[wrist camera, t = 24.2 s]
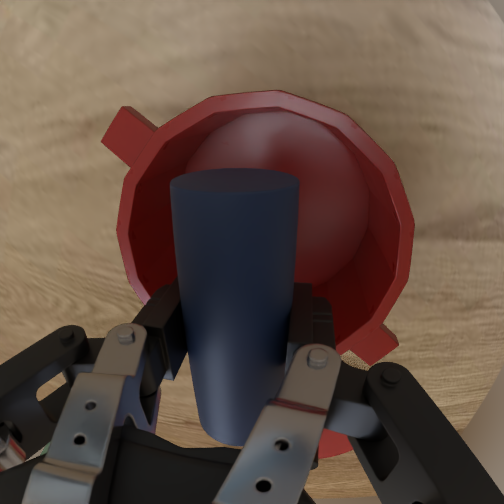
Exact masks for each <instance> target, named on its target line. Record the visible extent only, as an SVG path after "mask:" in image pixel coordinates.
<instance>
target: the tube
mask: <svg viewBox="0 0 504 504" xmlns="http://www.w3.org/2000/svg"><path fill="white" fill-rule="evenodd" d="M299 187H300V181H299V179H298V178H297V177H295V176H293V175H291V174H288V173H284V172H280V171H275V170H267V169H256V168H222V169H210V170H202V171H196V172H191V173H187V174H183V175H180V176H178V177H176V178H174V179H172V180H171V182H170V196H171V210H172V223H173V234H174V245H175V255H176V265H177V274H178V283H179V291H180V300H181V307H182V315H183V322H184V329H185V336H186V343H187V350H188V356H189V363H190V369H191V375H192V381H193V386H194V392H195V397H196V403H197V408H198V413H199V419H200V423H201V425H202V427H203V429H204V430H205V431H206V433H207V434H208V435H210V436H211V437H212V438H214V439H215V440H217V441H219V442H221V443H224V444H227V445H232V446H244V444H245V443H246V441H247V439H248V437H249V435H250V433H251V431H252V429H253V427H254V425H255V423H256V421H257V419H258V417H259V415H260V413H261V411H262V409H263V407H264V405H265V404H266V402H267V400H268V399H269V398H273V399H274V397H275V395H276V393H277V391H278V389H279V387H280V385H281V382H282V380H283V378H284V375H285V365H286V354H287V343H288V332H289V321H290V310H291V307H292V303H293V289H294V276H295V261H296V245H297V228H298V209H299Z"/></svg>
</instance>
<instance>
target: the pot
mask: <svg viewBox="0 0 504 504" xmlns="http://www.w3.org/2000/svg"><path fill="white" fill-rule="evenodd" d="M101 143H103V144H104V145H105V146H106V147H107V148H108V149H110V150H111V151H112V152H113V153H114V154H115V155H117V156H118V157H119V158H120V159H121V160H122V161H123V162H125V163H126V164H127V165H128V166H129V167H131V168H130V170H129V171H128V173H127V175H126V176H125V179H124V182H123V188H122V194H121V200H120V207H119V213H118V220H117V228H116V231H117V237H118V241H119V246H120V250H121V254H122V258H123V262H124V266H125V270H126V274H127V278H128V280H129V283H130V285H131V286H132V288H133V289H134V291H135V292H136V294H137V295H138V297H139V298H140V300H141V301H142V303H143V304H144V305H146V303H147V301H148V300H149V299H150V298H151V296H152V295H153V294H154V292H155V291H156V290H157V289H159V288H160V287H162V286H164V285H165V284H170V285H171V284H172V282H173V281H174V279H175V278H176V277H177V275H178V274H177V265H176V255H175V245H174V234H173V223H172V210H171V196H170V182H171V180H172V179H174V178H176V177H178V176H180V175H183V174H187V173H191V172H196V171H202V170H210V169H222V168H256V169H267V170H275V171H280V172H284V173H288V174H291V175H293V176H295V177H297V178H298V179H299V181H300V187H299V209H298V228H297V245H296V261H295V276H294V282H302V283H312V296H316V297H325V298H326V299H327V300H328V301H329V303H330V304H331V305H332V316H333V324H334V334H335V344H336V351H337V352H338V353H339V355H342V354H343V353H345V352H346V351H348V350H349V349H350V350H351V351H352V352H353V353H355V354H356V355H357V356H358V357H360V358H361V359H362V360H363V361H365V362H366V363H367V364H368V365H370V366H371V365H373V364H374V363H376V362H377V361H378V360H380V359H381V358H383V357H384V356H385V355H387V354H388V353H389V352H391V351H392V350H394V349H395V348H396V347H398V346H399V343H398V340H397V337H396V335H395V334H394V333H392V332H391V331H390V330H389V329H388V328H387V327H386V326H385V325H384V324H383V321H384V320H385V318H386V317H387V315H388V313H389V312H390V310H391V308H392V307H393V305H394V304H395V302H396V300H397V298H398V297H399V295H400V293H401V292H402V290H403V288H404V286H405V285H406V283H407V281H408V278H409V271H410V264H411V256H412V247H413V238H414V228H415V223H414V218H413V215H412V211H411V208H410V205H409V202H408V199H407V196H406V193H405V190H404V187H403V184H402V182H401V179H400V176H399V173H398V171H397V168H396V165H395V164H394V162H393V160H392V159H391V158H390V157H389V156H388V155H387V154H386V153H385V152H384V151H383V150H382V149H381V148H380V147H379V146H378V145H377V144H376V142H375V141H374V140H373V139H372V138H371V137H370V136H369V135H368V134H367V133H366V132H365V131H364V130H363V129H362V128H361V127H360V126H359V125H358V124H356V123H355V122H354V121H353V120H352V119H351V118H350V117H349V116H348V115H346V114H345V113H343V112H340V111H338V110H335V109H333V108H330V107H327V106H325V105H322V104H319V103H317V102H314V101H311V100H308V99H305V98H303V97H300V96H297V95H294V94H291V93H288V92H285V91H282V90H280V91H279V90H269V91H256V92H245V93H236V94H227V95H219V96H211V97H209V98H207V99H205V100H204V101H202V102H200V103H198V104H197V105H195V106H193V107H192V108H190V109H188V110H187V111H185V112H183V113H182V114H180V115H178V116H177V117H175V118H174V119H172V120H170V121H169V122H167V123H166V124H164V125H162V126H161V127H159V128H158V127H156V126H155V125H154V124H153V123H151V122H150V121H149V120H148V119H146V118H145V117H144V116H143V115H141V114H140V113H139V112H137V111H136V110H135V109H134V108H132V107H131V106H122V107H121V108H120V110H119V112H118V113H117V115H116V116H115V118H114V120H113V121H112V123H111V125H110V126H109V128H108V130H107V131H106V133H105V135H104V137H103V138H102V140H101Z"/></svg>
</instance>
